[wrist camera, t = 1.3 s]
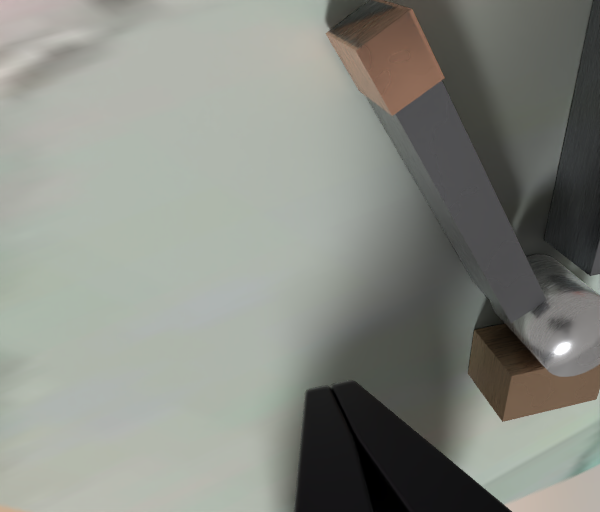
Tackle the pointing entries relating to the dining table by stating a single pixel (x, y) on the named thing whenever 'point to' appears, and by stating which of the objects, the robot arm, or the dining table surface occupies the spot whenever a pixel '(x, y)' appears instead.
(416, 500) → the robot arm
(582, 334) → the frame
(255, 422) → the dining table surface
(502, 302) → the bar
